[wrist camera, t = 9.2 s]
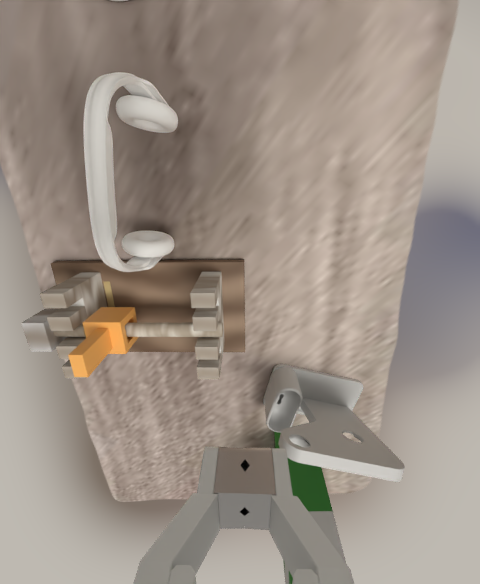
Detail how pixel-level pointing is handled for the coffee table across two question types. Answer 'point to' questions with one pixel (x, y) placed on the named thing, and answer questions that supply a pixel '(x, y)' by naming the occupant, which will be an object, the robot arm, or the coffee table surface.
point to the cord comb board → (148, 308)
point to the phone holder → (325, 423)
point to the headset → (100, 169)
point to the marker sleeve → (102, 338)
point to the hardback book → (312, 500)
